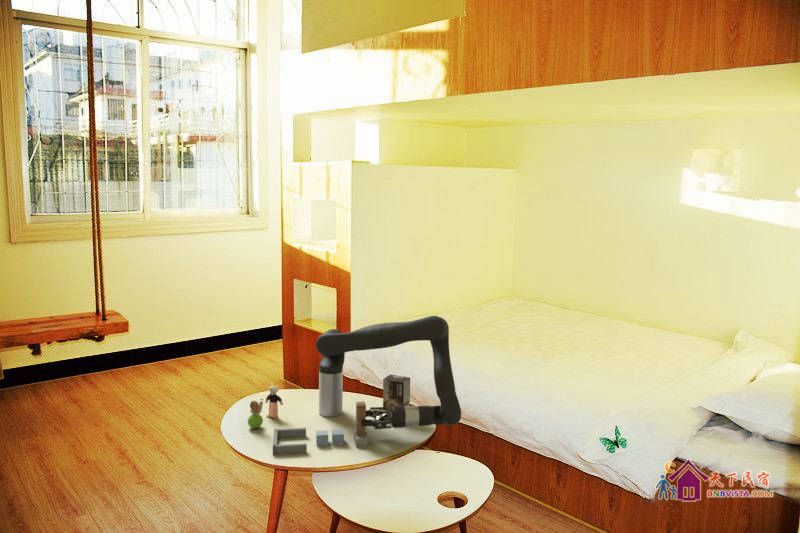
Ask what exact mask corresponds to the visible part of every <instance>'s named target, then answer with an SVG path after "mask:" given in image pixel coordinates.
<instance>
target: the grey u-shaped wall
mask: <svg viewBox="0 0 800 533" xmlns="http://www.w3.org/2000/svg"><path fill="white" fill-rule="evenodd" d="M306 437H307V427H295V428H294V427H292V428H275V429H274V430H273V440H272V455H273V456H277V455H278V456H280V455H282V454H283V455H298V454H299V455H301V453H302V454H307V453H308V450H307V448H308V446H307V445H308V444H307V442H306V443H305V442H304V443H289V444H288V443H287V444H278V439H292V438H293V439H295V438H306ZM275 454H276V455H275ZM279 454H280V455H279Z"/></svg>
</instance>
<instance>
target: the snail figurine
mask: <svg viewBox="0 0 800 533" xmlns="http://www.w3.org/2000/svg"><path fill="white" fill-rule="evenodd" d="M263 401H264V398H261V399H260V401H259V402H258V401H257V400H252V401H250V403H249V408H250V410H249V411H250V413H251V414H250V415H249V417H248V418H247V424H248V426H249V427H250V428H251V429H259V428H260V427H261V426H262V425H263V422H264V420H263V416H262V415H261V412H262V410H263V405H264V402H263Z"/></svg>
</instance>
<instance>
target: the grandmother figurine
mask: <svg viewBox="0 0 800 533" xmlns="http://www.w3.org/2000/svg"><path fill="white" fill-rule="evenodd" d="M278 392H279V388H278V387H277V386H276V385H271V386H269V394H268V395H267V396H266V398H265V401H264V403H265V404H268V414H267V415H266V418H269V419H270V418H272V419H274V420H276V419H278V418H279V404H280V406H283V405H284V403H283V399H282V398H281V396H279V395H277V393H278ZM278 402H279V404H278Z"/></svg>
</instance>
